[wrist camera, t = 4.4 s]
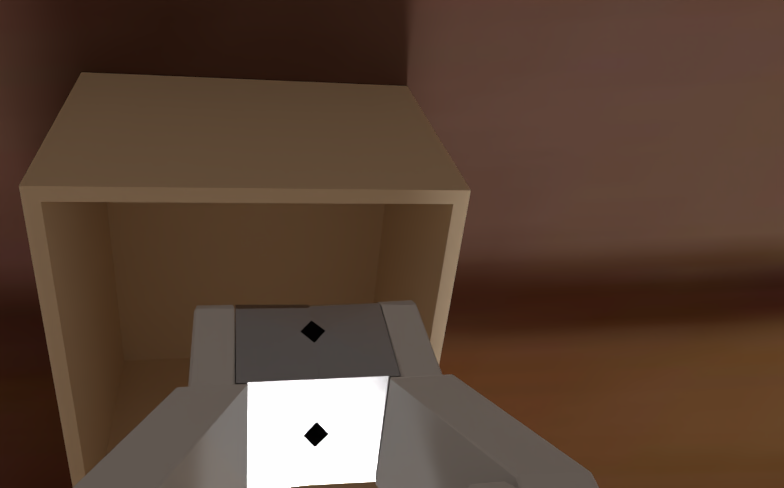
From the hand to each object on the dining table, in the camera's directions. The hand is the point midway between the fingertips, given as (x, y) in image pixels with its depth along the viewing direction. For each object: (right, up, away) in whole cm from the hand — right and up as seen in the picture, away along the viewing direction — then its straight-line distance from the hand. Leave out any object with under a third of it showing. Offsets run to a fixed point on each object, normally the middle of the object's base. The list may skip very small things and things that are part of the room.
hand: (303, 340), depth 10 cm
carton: (-7, +2, +30) cm, 31 cm away
